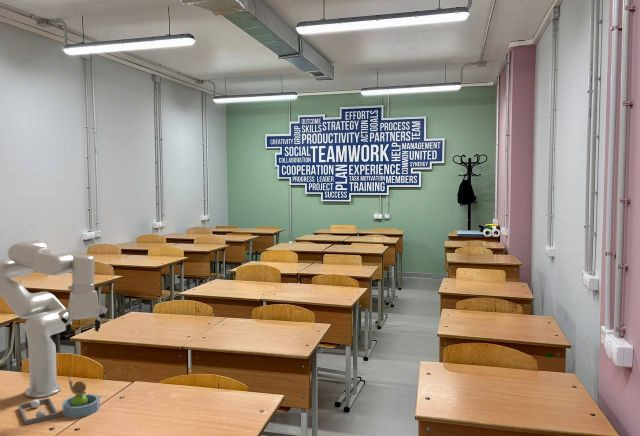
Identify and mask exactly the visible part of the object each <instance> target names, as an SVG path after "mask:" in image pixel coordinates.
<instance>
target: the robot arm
mask: <svg viewBox="0 0 640 436" xmlns="http://www.w3.org/2000/svg"><path fill="white" fill-rule="evenodd" d="M7 255H8V257H6V258H0V297H1V298H2V300H3V301H4V302H5V303H6V305H8V307H9V308H10V309H11V310H12V311H13V313H14V314H15V315H16V316H17V317H18V318H19V319H23V320H26V321H25V323H24V331H25V334H26V339H27V349H28V371H29V372H28V373H29V375H28V376H29V387H28V388H27V389H26V390H25V391H24V392H25V393H24V394H25V396H26V397H28V398H34V399H37V398H44V397H49V396H52V395H55V394H57V393H58V392H60V391H61V389H62V384H60V383H58V380H57V376H58V375H57V349H56V347H57V346H56V343H55V342H54V341H53V339H52V338H51V336H53V335H56V334H59V333H60V334H61V333H62V332H66V333H67V335H68V336H71V335H72V323H73V321H76V320H78V321H79V320H85V319H93V318H95V320H94V331H96V332H99V331H100V329H101V321H102V319H103V318H105V316H106V314H107V312H108V310H109V309H108V308H107V307H105V306H103V305H100V304H99V296H98V291H97V290H95V257H94V256H93V255H90V254H89V255H88V254H82V253H79V252H68V253H60V254H53V255H52V252H51V250H50V249H49V248H48V246H47V244H46V243H45V242H43V241H40V240H33V241H32V240H31V241H22V242H17V243H14V244H12V245H11V246H10V247H9V249H8V251H7ZM34 271H36V272H37V273H39V274H43V275H47V276H59V275H65V274H72V283H71V285H68V287H67V289H68V291H70V293H69V299H68V307H65V306H64V305H63V304H62V303H61V301H60V300H59V299H58V298H57V297H56V295H54V294H53V293H51V292H49V291H39V292H29V290H27V289H26V288H25V286H24V285H23V284H22V283H20V282H18V281H16V280H13V279H16V278H20V277H21V278H22V277H26V276H29V275H31V274H32V273H33V272H34ZM99 310H101V311H102V312H101V313H100V312H99ZM99 313H100V314H99Z"/></svg>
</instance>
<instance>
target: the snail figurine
mask: <svg viewBox="0 0 640 436" xmlns="http://www.w3.org/2000/svg"><path fill="white" fill-rule="evenodd" d="M73 382H74V381H73V379H71V376H69V377H68V384H69V388H70V391H71V392H72V394H74V395H73V396H74V397H73V396H72V397H73V399H72V401H71V405H72V407H80V406H85V405H87V402H88V400H87V397H86V396H85V395H84V394H87V391H86V390H87V384H86V383H85V381H81V380H78V381H76V382H75V383H73Z"/></svg>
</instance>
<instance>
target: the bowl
mask: <svg viewBox="0 0 640 436" xmlns="http://www.w3.org/2000/svg"><path fill="white" fill-rule="evenodd" d="M84 395H85V396H86V397H87V400H88V402H87V405H85V406H80V407H72V405H71V401H72V399H73V397H74V396H75V395H73V396H71V397H69V398H66V399H65V400H64V401H63V402H62V403H61V406H62V407H61V409H62V411H61V412H62V415H63V416H64V417H67V418H70V419H71V418H72V419H73V418H74V419H75V418H82V417H87V416H90V415H93V414H95V413H96V412H98V410H99V409H100V408H101V405H100V404H101V402H100V401H101V400H100V396H99V395H97V394H93V393H85V394H84Z"/></svg>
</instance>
